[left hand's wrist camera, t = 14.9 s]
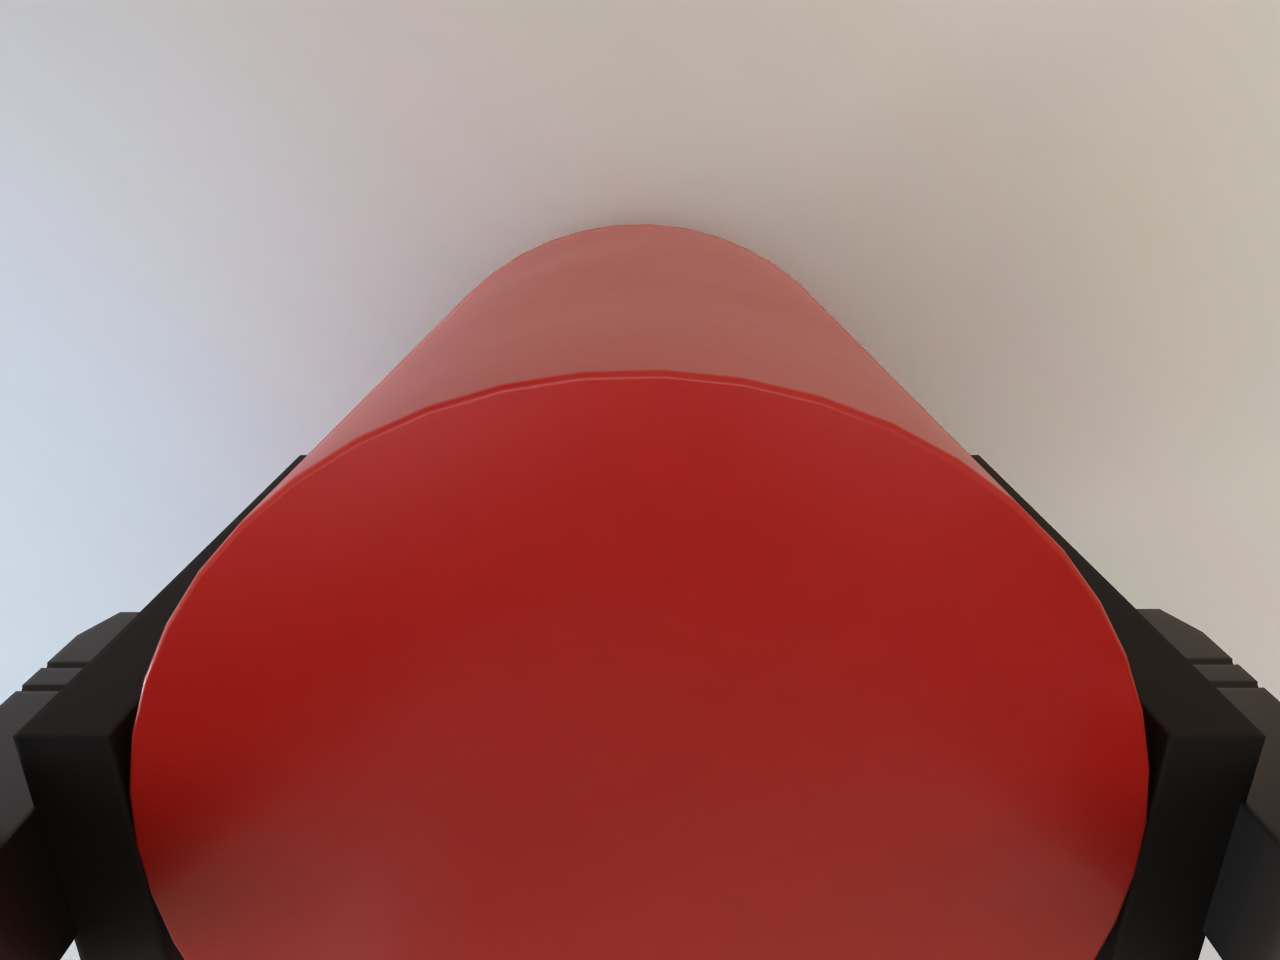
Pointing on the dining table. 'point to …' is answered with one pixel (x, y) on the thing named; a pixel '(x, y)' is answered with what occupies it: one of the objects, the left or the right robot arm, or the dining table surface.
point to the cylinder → (639, 657)
